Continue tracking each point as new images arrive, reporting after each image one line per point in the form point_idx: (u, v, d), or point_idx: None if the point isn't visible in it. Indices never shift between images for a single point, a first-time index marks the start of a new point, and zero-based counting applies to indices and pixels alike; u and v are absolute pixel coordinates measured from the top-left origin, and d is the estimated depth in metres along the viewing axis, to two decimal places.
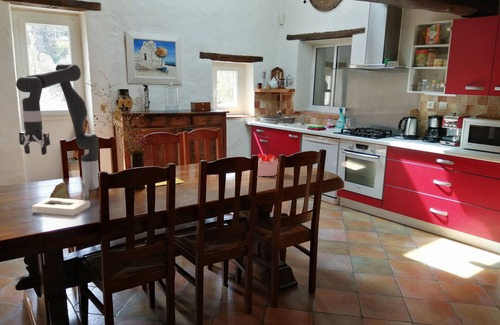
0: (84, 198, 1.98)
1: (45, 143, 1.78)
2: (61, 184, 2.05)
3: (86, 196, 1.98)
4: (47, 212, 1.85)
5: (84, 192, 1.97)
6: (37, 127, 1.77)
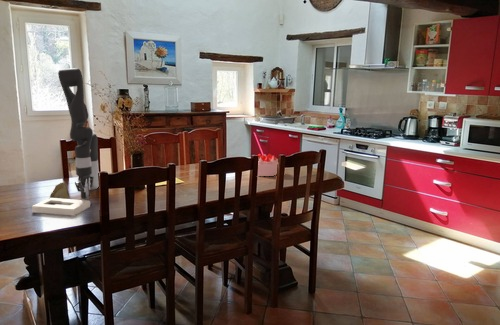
0: None
1: (91, 185, 2.02)
2: (61, 184, 2.05)
3: (86, 196, 1.98)
4: (47, 212, 1.85)
5: None
6: None
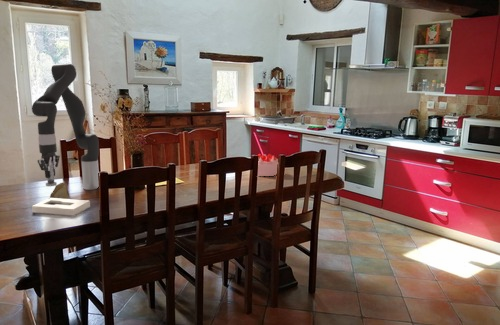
0: None
1: (57, 164, 1.91)
2: (61, 184, 2.05)
3: (51, 175, 1.87)
4: (47, 212, 1.85)
5: None
6: None
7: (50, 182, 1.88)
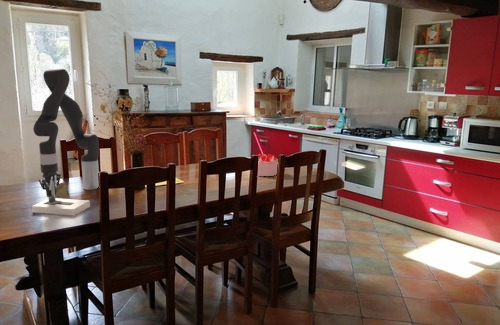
0: None
1: (58, 183, 1.93)
2: (61, 184, 2.05)
3: (52, 194, 1.89)
4: (47, 212, 1.85)
5: None
6: None
7: (51, 201, 1.90)
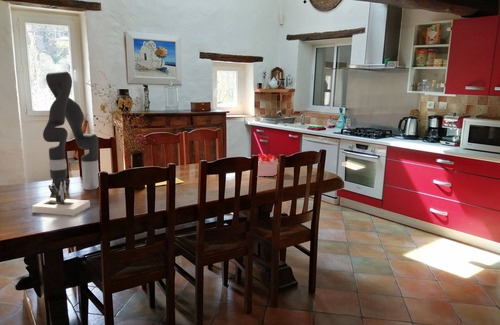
0: None
1: (67, 188, 1.93)
2: None
3: (61, 200, 1.89)
4: (47, 212, 1.85)
5: None
6: None
7: None
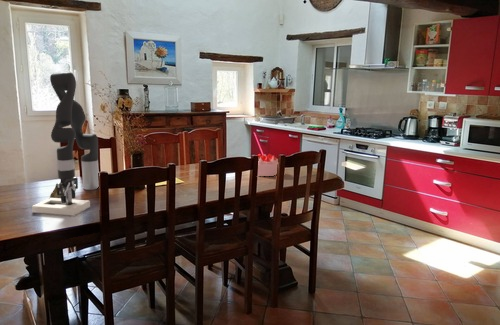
0: (67, 203, 1.89)
1: (77, 186, 1.94)
2: None
3: (69, 200, 1.89)
4: (47, 212, 1.85)
5: (67, 196, 1.88)
6: None
7: None
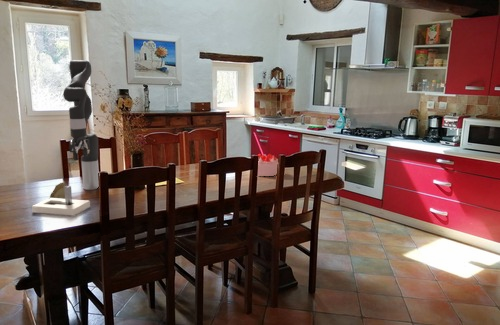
0: (67, 203, 1.89)
1: (89, 145, 2.03)
2: (61, 184, 2.05)
3: (69, 200, 1.89)
4: (47, 212, 1.85)
5: (67, 196, 1.88)
6: None
7: None
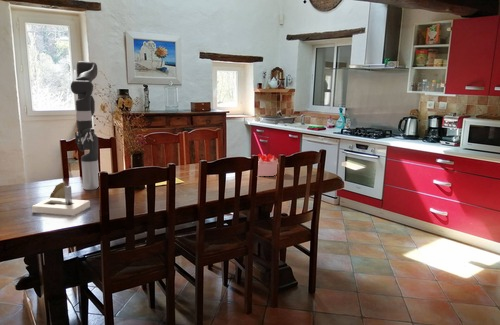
0: (67, 203, 1.89)
1: (94, 137, 2.07)
2: (61, 184, 2.05)
3: (69, 200, 1.89)
4: (47, 212, 1.85)
5: (67, 196, 1.88)
6: None
7: None
